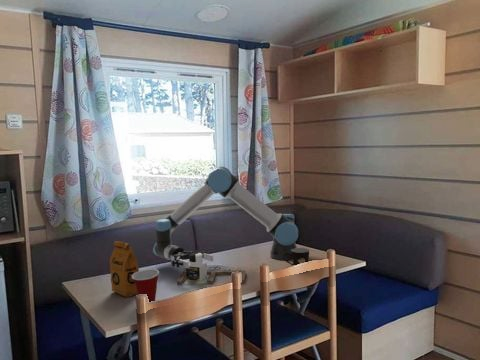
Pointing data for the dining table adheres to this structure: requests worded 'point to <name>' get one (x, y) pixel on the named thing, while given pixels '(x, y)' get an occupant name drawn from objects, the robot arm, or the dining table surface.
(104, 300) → the dining table surface
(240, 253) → the dining table surface
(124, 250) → the coffee package
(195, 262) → the medicine bottle
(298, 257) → the coffee mug
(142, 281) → the plastic cup
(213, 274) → the wooden tray frame
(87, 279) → the dining table surface
